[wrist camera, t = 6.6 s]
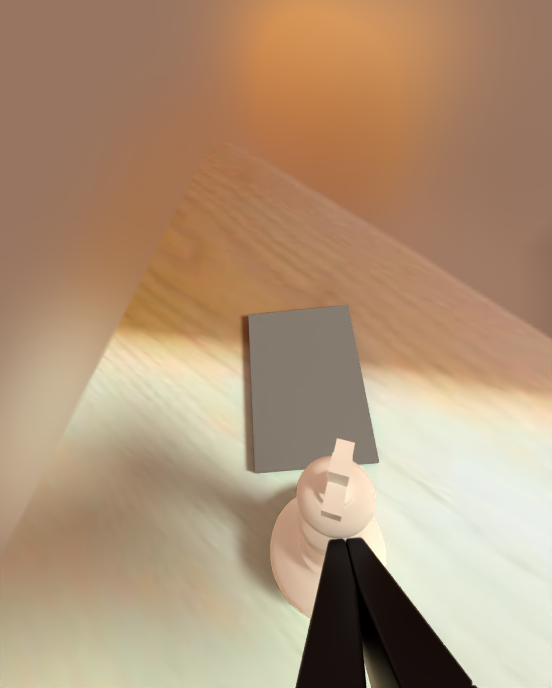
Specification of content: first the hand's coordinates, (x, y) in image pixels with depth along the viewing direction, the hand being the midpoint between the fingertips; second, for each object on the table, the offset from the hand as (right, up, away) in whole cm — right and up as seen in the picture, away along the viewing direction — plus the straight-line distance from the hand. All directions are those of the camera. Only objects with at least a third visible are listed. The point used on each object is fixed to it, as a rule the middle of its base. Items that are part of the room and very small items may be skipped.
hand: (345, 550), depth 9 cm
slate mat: (0, +3, +10) cm, 11 cm away
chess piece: (0, -4, +7) cm, 8 cm away
